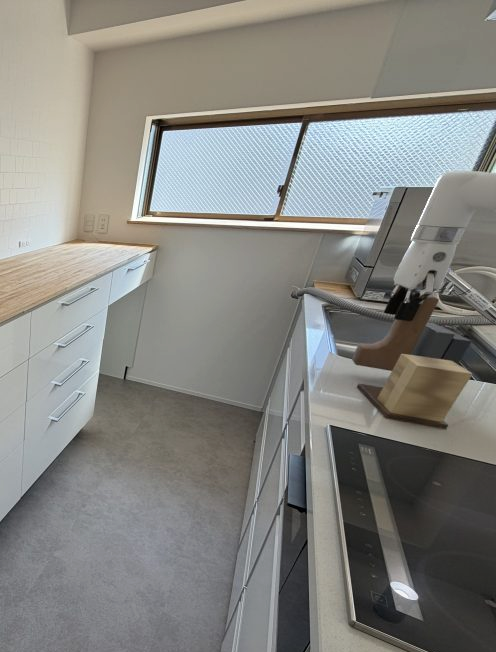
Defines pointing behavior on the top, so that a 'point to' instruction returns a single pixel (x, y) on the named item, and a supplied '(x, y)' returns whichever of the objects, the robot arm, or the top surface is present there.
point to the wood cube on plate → (419, 390)
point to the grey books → (441, 344)
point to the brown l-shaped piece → (396, 339)
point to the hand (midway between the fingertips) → (397, 316)
